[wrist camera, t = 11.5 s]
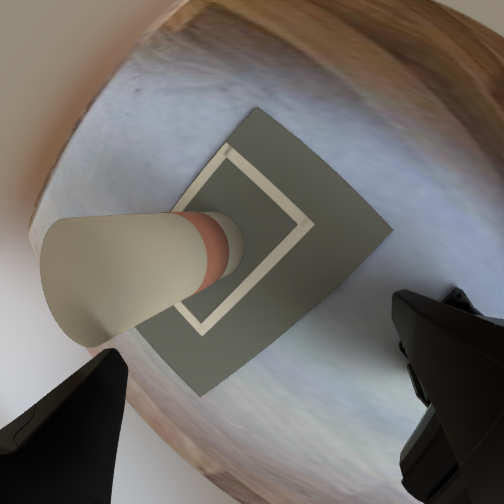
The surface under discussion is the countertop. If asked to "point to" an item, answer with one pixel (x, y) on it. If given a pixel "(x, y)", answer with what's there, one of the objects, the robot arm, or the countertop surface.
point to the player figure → (131, 267)
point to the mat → (264, 250)
